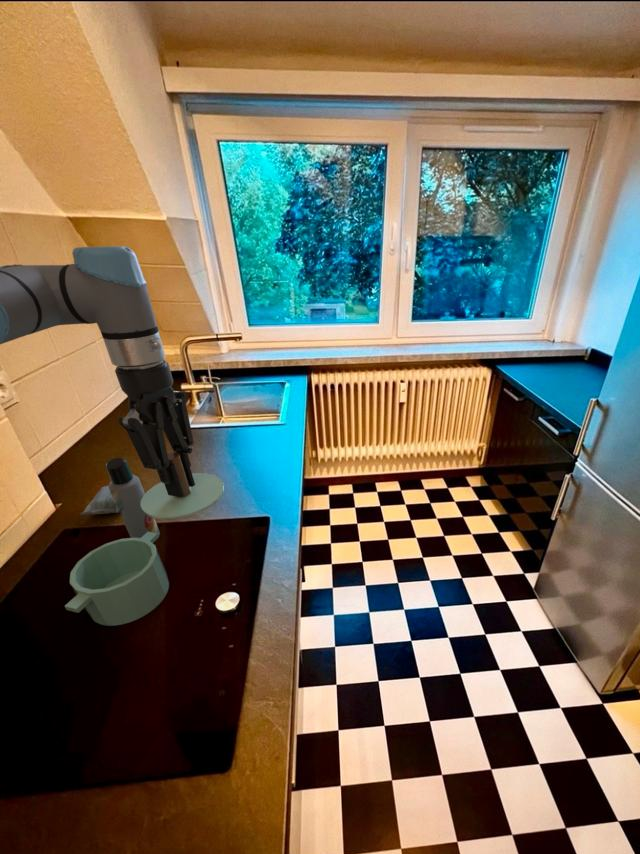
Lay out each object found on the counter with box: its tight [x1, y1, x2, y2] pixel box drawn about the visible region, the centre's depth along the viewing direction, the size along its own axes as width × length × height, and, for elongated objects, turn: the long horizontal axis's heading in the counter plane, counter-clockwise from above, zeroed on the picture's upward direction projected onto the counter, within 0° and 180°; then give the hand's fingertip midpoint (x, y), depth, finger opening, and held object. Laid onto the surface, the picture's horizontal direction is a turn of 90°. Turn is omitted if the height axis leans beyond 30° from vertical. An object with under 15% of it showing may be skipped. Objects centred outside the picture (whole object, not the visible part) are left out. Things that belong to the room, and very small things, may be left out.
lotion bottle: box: [104, 457, 161, 538], centre depth 82 cm, size 6×6×20 cm
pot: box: [64, 532, 170, 627], centre depth 71 cm, size 14×19×8 cm
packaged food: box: [79, 485, 120, 516], centre depth 97 cm, size 9×12×5 cm
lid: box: [140, 451, 225, 520], centre depth 70 cm, size 15×15×9 cm
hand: (181, 489), depth 72 cm, fingers closed on lid, 3 cm apart
